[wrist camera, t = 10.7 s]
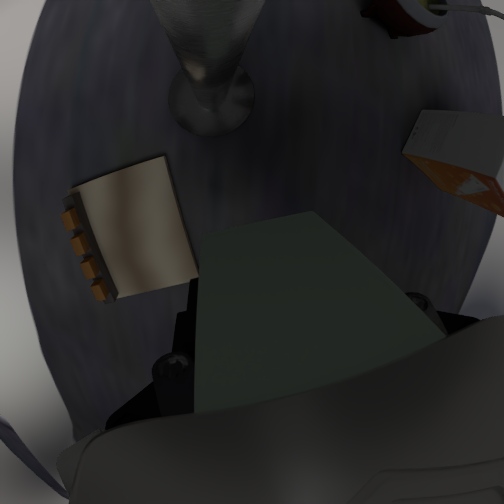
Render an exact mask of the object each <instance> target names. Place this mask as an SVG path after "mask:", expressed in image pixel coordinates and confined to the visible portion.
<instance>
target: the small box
mask: <svg viewBox="0 0 504 504" xmlns="http://www.w3.org/2000/svg"><path fill="white" fill-rule="evenodd" d="M402 154H403V155H404V156H406V157H407V158H408V159H409V160H410V161H412V162H413V163H414V164H415V165H416V166H417V167H418V168H419V169H420V170H421V171H422V172H423V173H425V174H426V175H427V176H428V177H429V178H430V179H431V180H432V181H433V183H434V184H435V185H436V186H437V187H438V188H439V189H440V190H443V191H445V192H448V193H450V194H453V195H455V196H458V197H460V198H462V199H465V200H467V201H469V202H472V203H474V204H476V205H479V206H481V207H483V208H485V209H487V210H490V211H492V212H494V213H496V214H498V215H500V216H502V217H504V116H501V115H493V114H485V113H475V112H464V111H447V110H422V111H421V113H420V115H419V117H418V119H417V121H416V123H415V125H414V128H413V130H412V132H411V134H410V136H409V138H408V140H407V142H406V144H405V146H404V148H403V150H402Z"/></svg>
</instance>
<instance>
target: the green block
mask: <svg viewBox="0 0 504 504" xmlns="http://www.w3.org/2000/svg"><path fill="white" fill-rule="evenodd" d="M444 337H446V335H445V334H444V333H443V332H442V331H441V330H440V329H439V328H438V327H437V326H436V325H435V324H434V323H433V322H432V321H431V320H430V319H429V318H428V317H427V315H426V314H425V313H424V312H423V311H422V310H421V309H420V308H419V307H418V306H417V305H416V304H415V303H414V302H413V301H412V300H411V299H410V298H409V297H408V296H407V295H406V294H405V293H404V292H402V291H401V290H400V289H399V288H398V287H397V286H396V285H395V284H394V283H393V282H392V281H391V280H390V279H389V278H388V277H387V276H386V275H385V274H384V273H383V272H382V271H380V270H379V269H378V268H377V267H376V266H375V265H374V264H373V263H372V262H371V261H370V260H369V259H367V258H366V257H365V256H364V255H363V254H362V253H361V252H360V251H359V250H357V249H356V248H355V247H354V246H353V245H352V244H351V243H350V242H348V241H347V240H346V239H345V238H344V237H343V236H342V235H340V234H339V233H338V232H337V231H336V230H335V229H333V228H332V227H331V226H330V225H329V224H328V223H326V222H325V221H324V220H323V219H322V218H320V217H319V216H318V215H317V214H316V213H314V212H313V211H308V212H303V213H298V214H294V215H289V216H284V217H279V218H274V219H270V220H265V221H260V222H256V223H251V224H246V225H242V226H237V227H233V228H228V229H224V230H219V231H215V232H211V233H206V234H202V241H201V253H200V266H199V281H198V297H197V316H196V340H195V377H194V413H199V412H206V411H213V410H219V409H225V408H231V407H237V406H242V405H247V404H252V403H257V402H261V401H266V400H270V399H275V398H279V397H283V396H287V395H291V394H295V393H299V392H302V391H306V390H310V389H313V388H316V387H320V386H323V385H327V384H330V383H333V382H336V381H339V380H342V379H345V378H348V377H351V376H354V375H357V374H360V373H362V372H365V371H368V370H370V369H373V368H376V367H378V366H381V365H383V364H386V363H388V362H391V361H393V360H396V359H398V358H401V357H403V356H405V355H408V354H410V353H412V352H414V351H417V350H419V349H421V348H423V347H425V346H428V345H430V344H432V343H434V342H436V341H438V340H440V339H442V338H444Z"/></svg>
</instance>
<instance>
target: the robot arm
mask: <svg viewBox="0 0 504 504" xmlns="http://www.w3.org/2000/svg"><path fill="white" fill-rule="evenodd" d="M198 281H199V277H197V278H193V279H190V285H189V294H188V303H187V311H183V312H178V313H177V318H176V325H175V332H174V340H173V347H172V352H171V353H167V354H165V355H163V356H161V357H160V358H159V359H157V360H156V362H155V363H154V364H153V367H152V378H153V382H152V383H150V384H149V385H148V386H147V387H145V388H144V389H143V390H142V391H140V392H139V393H138V394H137V395H136V396H134V397H133V398H132V399H131V400H129V401H128V402H127V403H126V404H124V405H123V406H122V407H121V408H119V409H118V410H117V411H115V412H114V413H113V414H112V415H111V416H110V417H109V419H108V420H107V422H106V427H105V429H104V430H103V431H101V430H100V429H98V430H96V431H95V432H93V433H91V434H90V435H88V436H87V437H85V438H83V439H82V440H80V441H78V442H77V443H75V444H74V445H72V446H70V447H69V448H67V449H65V450H64V451H63V452H61V453H60V454H59V456H58V458H57V462H56V466H57V470H58V472H59V474H60V477H61V479H62V482H63V484H64V486H65V488H66V491H67V493H68V495H69V497H70V499H69V504H504V315H501V316H494V317H489V318H486V319H482V320H479V319H477V318H474V317H469V316H464V315H458V314H452V313H447V312H441V311H436V310H435V308H434V306H433V305H432V303H431V301H430V300H429V299H428V298H427V297H426V296H424V295H422V294H420V293H414V292H409V293H405V294H406V295H407V296H408V297H409V298H410V299H411V300H412V301H413V302H414V303H415V304H416V305H417V306H418V307H419V308H420V309H421V310H422V311H423V312H424V313H425V314H426V315H427V317H428V318H429V319H430V320H431V321H432V322H433V323H434V324H435V325H436V326H437V327H438V328H439V329H440V330H441V331H442V332H443V333H444V334H445V335H446V337H444V338H442V339H440V340H438V341H436V342H434V343H432V344H430V345H428V346H425V347H423V348H421V349H419V350H417V351H414V352H412V353H410V354H408V355H405V356H403V357H401V358H398V359H396V360H393V361H391V362H388V363H386V364H383V365H381V366H378V367H376V368H373V369H370V370H368V371H365V372H362V373H360V374H357V375H354V376H351V377H348V378H345V379H342V380H339V381H336V382H333V383H330V384H327V385H323V386H320V387H316V388H313V389H310V390H306V391H302V392H299V393H295V394H291V395H287V396H283V397H279V398H275V399H270V400H266V401H261V402H257V403H252V404H247V405H242V406H237V407H231V408H225V409H219V410H213V411H206V412H199V413H194V377H195V340H196V316H197V297H198Z"/></svg>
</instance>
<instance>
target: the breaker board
mask: <svg viewBox="0 0 504 504" xmlns="http://www.w3.org/2000/svg"><path fill="white" fill-rule="evenodd" d="M68 195H69V196H68V197H66V198H64V199H62V201H63V204H64V207H65V210H66V211H65V212H64V213H62V214H61V217H62V220H63V223H64V226H65V228H66V231H69V230H73V233H74V235H75V236H74V237H72V238H71V239H70V241H71V244H72V246H73V249H74V251H75V254H76V256H79V255H83V258H84V260H83V261H82V262H81V263H80V265H81V268H82V270H83V272H84V274H85V277H86V279H91V278H93V280H94V282H93V284H92V285H91V289H92V291H93V293H94V295H95V297H96V299H97V301H101V300H103V301H104V303H105V304H108V303H112V302H115V301H116V298H121V297H125V296H130V295H134V294H138V293H143V292H147V291H152V290H156V289H160V288H165V287H169V286H173V285H178V284H182V283H186V282H190V279H193V278H197V277H199V270H198V267H197V263H196V260H195V257H194V254H193V251H192V247H191V244H190V241H189V238H188V234H187V231H186V228H185V224H184V221H183V217H182V214H181V211H180V207H179V204H178V200H177V196H176V193H175V189H174V186H173V182H172V178H171V174H170V171H169V167H168V163H167V159H166V155H165V156H162V157H158V158H155V159H152V160H149V161H145V162H142V163H139V164H136V165H133V166H130V167H127V168H124V169H122V170H119V171H116V172H113V173H110V174H108V175H105V176H102V177H100V178H97V179H94V180H92V181H89V182H87V183H84V184H82V185H79V186H77V187H74V188H72V189H70V190H68Z"/></svg>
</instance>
